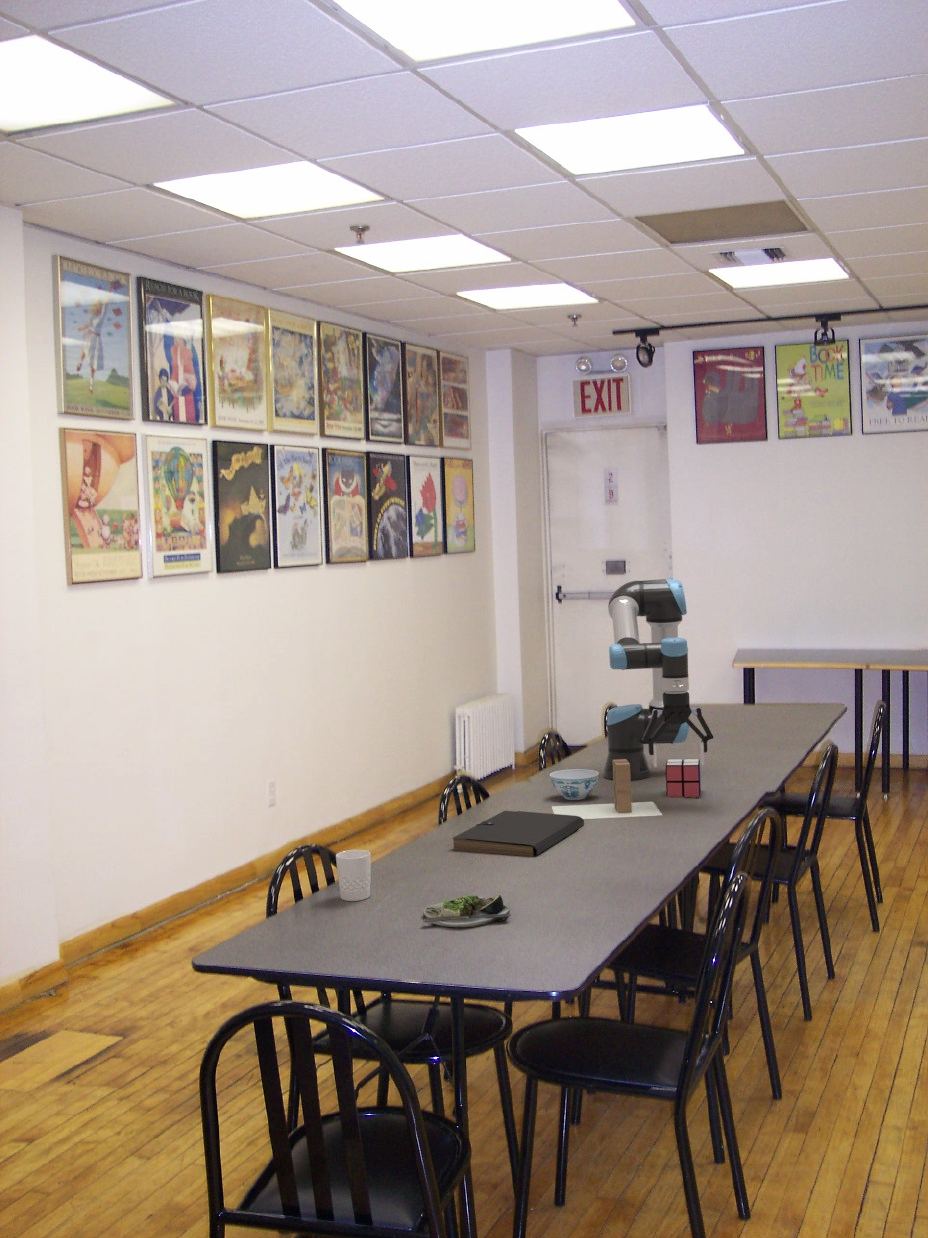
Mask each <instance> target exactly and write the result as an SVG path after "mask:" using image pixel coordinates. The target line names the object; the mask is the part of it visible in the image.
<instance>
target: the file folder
mask: <svg viewBox="0 0 928 1238" xmlns="http://www.w3.org/2000/svg"><path fill="white" fill-rule="evenodd" d="M583 826H585V819H582V818H581V817H579V816H573V815H561V814H554V813H549V812H547V813H545V812H533V811H523V810H522V811H521V810H517V811H515V810H514V811H513V810H503V811H501V812H500V813H498V814H496V815H494V816H492V817H489V818H488V819H486V820H484V821H481V822H480V823H477V824H476V825H475V826H472V827H470V828H468V829H467V830H465V831H463V832H461V833H459V834H457V835H455V836H453V837H452V839H453V845H452V846H453V851H459V852H460V851H461V852H472V853H473V852H474V853H481V854H482V853H484V854H499V855H500V854H501V855H512V856H513V855H514V856H516V855H517V856H525V857H534V858H535V857H537V856H539V855H541V854H542V853H544V852H545V851H546V850H548V849H549V848H551V847H553V846H555V845H557V844H558V843H559V842H560V841H563V840H564V839H566V838H567V837H568V836H570V835H572V834H573V833H575V832H576V831H578V830H579V829H580V828H582V827H583Z"/></svg>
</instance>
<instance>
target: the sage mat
mask: <svg viewBox="0 0 928 1238" xmlns="http://www.w3.org/2000/svg"><path fill="white" fill-rule="evenodd" d="M551 810H552V812H553V813H552V814H561V815H573V816H579V817H581V818H582V819H583V820H591V819H594V820H597V819H614V818H615V819H616V818H632V817H633V818H634V817H636V818H637V817H639V818H640V817H654V816H656V817H657V816H663V813H662V812H661V811H660V809H659V808H658V806H657V805H656V804H655V802H654V801H639V802H638V801H637V802H632V813H617V811H616V809H615V807H614V803H597V804H595V803H594V804H593V803H592V804H576V805H572V804H571V805H557V806H556V805H552V806H551Z"/></svg>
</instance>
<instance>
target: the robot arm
mask: <svg viewBox="0 0 928 1238" xmlns="http://www.w3.org/2000/svg"><path fill="white" fill-rule="evenodd" d="M684 591H685V590H684V587H683V584H682V582H681V581H680V580H678V579H673V578H672V579H670V578H664V579H663V578H662V579H647V580H646V579H645V580H632V581H629V582H626V583H624V584H622V585H621V586H620V587H618V588H617V589H616V590H615V591H614V592H613V594H612V595H611V597H610V599H609V601H608V604H607V605H608V606H607V607H608V608H607V609H608V614H609V617H610V618H611V619H612V627H613V639H614V640H613V641H614V644H611V645H610V646H609V647H608V652H609V653H608V654H609V657H608V658H609V667H610V668H611V670H622V671H625V670H638V669H639V670H640V669H641V670H643V669H646V670H647V669H651V670H652V695H653V696H652V699H651V700H650V701H649V702H648V708H644V707H643V705H642V704H641V703H636V704H635V703H634V704H631V703H630V704H625V705H621V706H616V707H613V708H611V709H610V710H608V712H607V717H606V718H607V719H606V721H607V722H606V726H607V745H608V746H607V747H608V749H607V751H608V754H607V757H606V761H605V765H604V768H603V777H604V778H605V779H607V780H608V779H609V780H613V760H619V759H627V761H628V762H629V763H630V776H631V781H635V780H643V779H647V778H649V777H650V776H651V769H650V768H651V767H650V766H649V763H648V760H647V758H646V754H645V750H644V747H645V746H644V745H648V754H649V755H650V756H652V766H653V767H654V768H658V759H657V758H658V757H657V754H658V753H657V744H659V745H660V744H662V745H663V744H664V745H665V744H671V745H672V744H680V743H684V742H685V741H686V740H687V739H688V735H689V729H690V728H691V730H692V731H694V733H695V734H696V735H697V736H698V737H699V738H700V739H701V740H698V744H699V745H698V746H699V747H698V749H699V750H698V751H699V760H700V766H702V765H705V753H708V741H710V740H713V739H714V734H712V731H711V729H710V727H709V725H708V723H707V722H706V720H705V719H704V716H703V715H702V709H701V708H700V707H699V706H696V707H693V708H691V707H690V702H691V701H690V693H689V690H690V683H689V682H690V681H689V680H690V679H689V653H688V652H689V648H688V641H687V639H686V638H684V637H679V625H680V624H681V623H682V622H683V616H686V615H687V613H688V611H687V610H688V609H687V604H686V603H687V602H686V597H685V592H684ZM638 617H645V622H646V623H647V624H648V625H649V626H650V631H651V633H650V635H651V637H650V638H651V642H648V643H647V642H644V643H643V642H640V633H639V627H638ZM691 714H693V715H694V716H695V717H696V718H697V719H698V721H699V723H700V726H701V728H702V729H703V730H704V732H705V734H706V735H704V733H702V731H701V730H700V729H699V728H698V727H697V726H696V725H695V724H694V723H693V722H692V720H691V719H690V716H691Z"/></svg>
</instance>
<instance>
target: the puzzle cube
mask: <svg viewBox="0 0 928 1238" xmlns="http://www.w3.org/2000/svg"><path fill="white" fill-rule="evenodd" d="M665 781H666V782H665V787H666V791H665V792H666V797H667V798H670V797H673V798H674V797H678V798H681V797H683V798H684V797H700V798H701V794H700V793H701V792H702V790H701V788H702V787H701V786H702V785H701V783H702V782H701V764H700V758H698V759H697V758H695V759H694V758H693V759H692V758H691V759H688V758H687V759H682V758H681V759H676V758H675V759H667V760H666V762H665Z"/></svg>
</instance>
